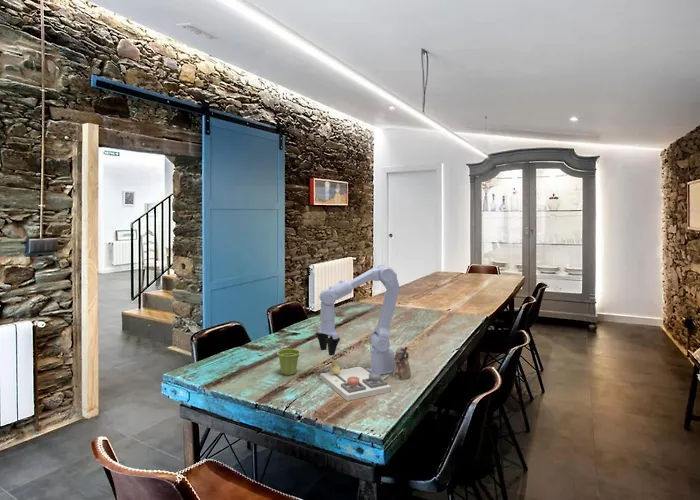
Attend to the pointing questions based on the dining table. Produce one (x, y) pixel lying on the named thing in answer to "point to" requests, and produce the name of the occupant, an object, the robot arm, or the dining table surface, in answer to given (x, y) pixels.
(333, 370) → the brass slider
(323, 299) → the robot arm
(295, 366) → the plant pot
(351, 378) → the red button
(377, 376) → the grey button
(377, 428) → the dining table surface
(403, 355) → the figurine
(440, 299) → the dining table surface
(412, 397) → the dining table surface
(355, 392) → the control board
